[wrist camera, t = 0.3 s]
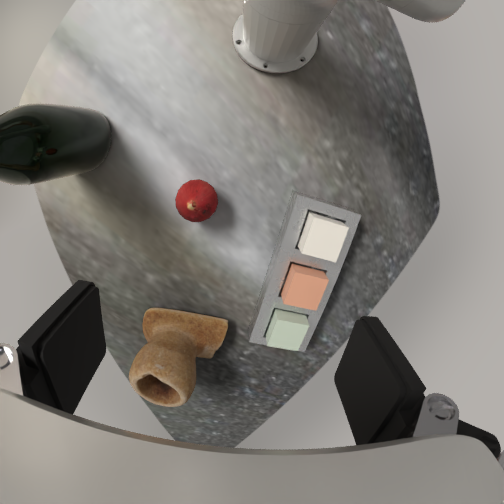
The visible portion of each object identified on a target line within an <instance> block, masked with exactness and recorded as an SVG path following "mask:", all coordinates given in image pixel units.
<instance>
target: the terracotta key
mask: <svg viewBox="0 0 504 504" xmlns="http://www.w3.org/2000/svg"><path fill="white" fill-rule="evenodd" d="M328 282H329V279H328V278H327V276H326V274H325V273H324V272H323V271H319V270H315V269H311V268H307V267H303V266H299V265H295V264H292V265H291V267H290V270H289V273H288V276H287V279H286V282H285V284H284V287H283V290H282V293H281V296H282V300H283V304H286V305H291V306H295V307H300V308H305V309H310V310H315V311H316V310H317V308H318V305H319V303H320V301H321V298H322V296H323V294H324V291H325V289H326V286H327V284H328Z"/></svg>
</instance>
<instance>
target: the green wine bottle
mask: <svg viewBox="0 0 504 504" xmlns="http://www.w3.org/2000/svg"><path fill="white" fill-rule="evenodd" d="M111 136H112V135H111V128H110V125H109V123H108V121H107V119H106V118H105V116H104V115H103V114H101V113H100V112H98V111H96V110H93V109H89V108H82V107H74V106H66V105H55V104H27V105H23V106H19V107H15V108H13V109H11V110H9V111H7V112H5V113H3V114H2V115H0V182H3V183H7V184H11V185H30V184H36V183H41V182H45V181H50V180H54V179H59V178H63V177H68V176H72V175H77V174H81V173H85V172H88V171H91V170H93V169H95V168H96V167H98V166H99V165H100V164H101V163H102V162H103V161H104V159H105V158H106V156H107V154H108V152H109V149H110V145H111Z"/></svg>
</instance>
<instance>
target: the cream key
mask: <svg viewBox="0 0 504 504" xmlns="http://www.w3.org/2000/svg"><path fill="white" fill-rule="evenodd" d="M348 229H349V227H347V226H346V225H345V224H344V223H343V222H340V221H337V220H334V219H331V218H327V217H324V216H321V215H317V214H314V213H311V212H309V214H308V217H307V220H306V223H305V226H304V229H303V232H302V235H301V238H300V241H299V244H298V247H299V249H300V251H301V253H302V254H306V255H309V256H313V257H317V258H321V259H325V260H329V261H332V262H336V261H337V259H338V256H339V253H340V251H341V248H342V245H343V243H344V240H345V237H346V235H347V232H348Z"/></svg>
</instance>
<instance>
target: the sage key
mask: <svg viewBox="0 0 504 504" xmlns="http://www.w3.org/2000/svg"><path fill="white" fill-rule="evenodd" d="M308 328H309V323H308V320H307V317H306V315H302V314H297V313H292V312H287V311H283V310H278V309H275V312H274V314H273V317H272V320H271V322H270V325H269V328H268V330H267V333H266V340H267V346H271V347H276V348H282V349H288V350H294V351H298V350H299V348H300V345H301V343H302V341H303V339H304V337H305V335H306V332H307V330H308Z"/></svg>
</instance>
